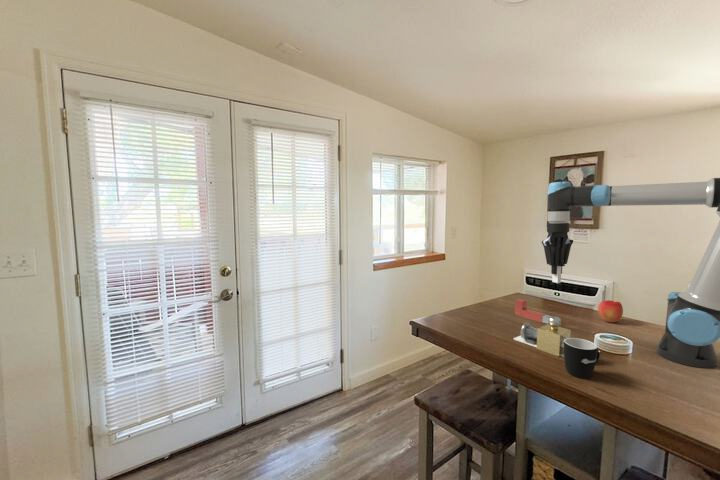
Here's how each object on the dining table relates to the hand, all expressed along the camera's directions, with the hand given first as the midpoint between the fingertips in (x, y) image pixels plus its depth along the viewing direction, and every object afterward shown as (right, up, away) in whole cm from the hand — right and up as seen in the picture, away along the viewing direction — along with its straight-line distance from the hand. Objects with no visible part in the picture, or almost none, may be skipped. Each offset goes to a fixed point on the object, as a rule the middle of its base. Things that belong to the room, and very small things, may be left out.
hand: (556, 282), depth 130 cm
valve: (-5, -25, -6) cm, 26 cm away
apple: (+38, -21, +23) cm, 49 cm away
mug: (-5, -27, -23) cm, 36 cm away
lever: (-8, -14, -1) cm, 17 cm away
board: (-2, -24, -2) cm, 24 cm away
